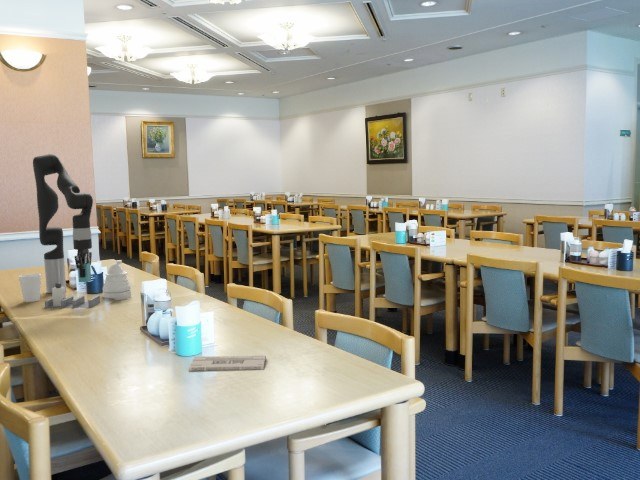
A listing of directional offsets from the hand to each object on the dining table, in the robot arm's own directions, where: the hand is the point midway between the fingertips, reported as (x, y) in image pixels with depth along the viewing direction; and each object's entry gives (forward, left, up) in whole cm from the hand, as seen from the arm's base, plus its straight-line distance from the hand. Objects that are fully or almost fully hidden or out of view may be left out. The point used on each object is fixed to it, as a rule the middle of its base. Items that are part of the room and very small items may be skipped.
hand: (84, 276), depth 257 cm
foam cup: (-12, -30, -14) cm, 35 cm away
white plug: (0, -12, -13) cm, 18 cm away
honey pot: (-20, +7, -14) cm, 26 cm away
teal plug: (0, 0, -2) cm, 2 cm away
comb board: (0, -6, -14) cm, 15 cm away
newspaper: (+85, +75, -15) cm, 115 cm away
